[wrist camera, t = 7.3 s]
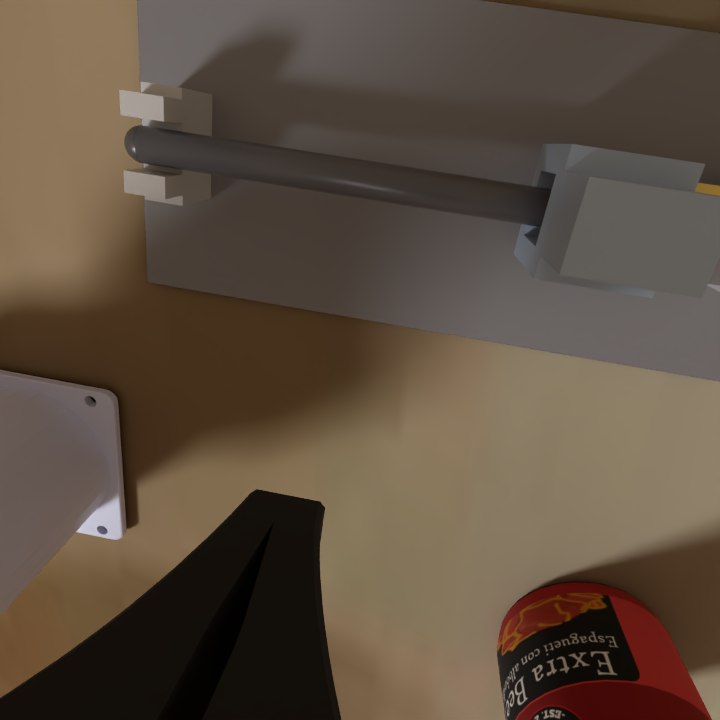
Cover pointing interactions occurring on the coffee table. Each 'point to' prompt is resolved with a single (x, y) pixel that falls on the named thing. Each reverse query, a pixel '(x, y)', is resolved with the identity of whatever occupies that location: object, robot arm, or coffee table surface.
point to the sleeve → (622, 223)
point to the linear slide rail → (411, 161)
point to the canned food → (591, 659)
